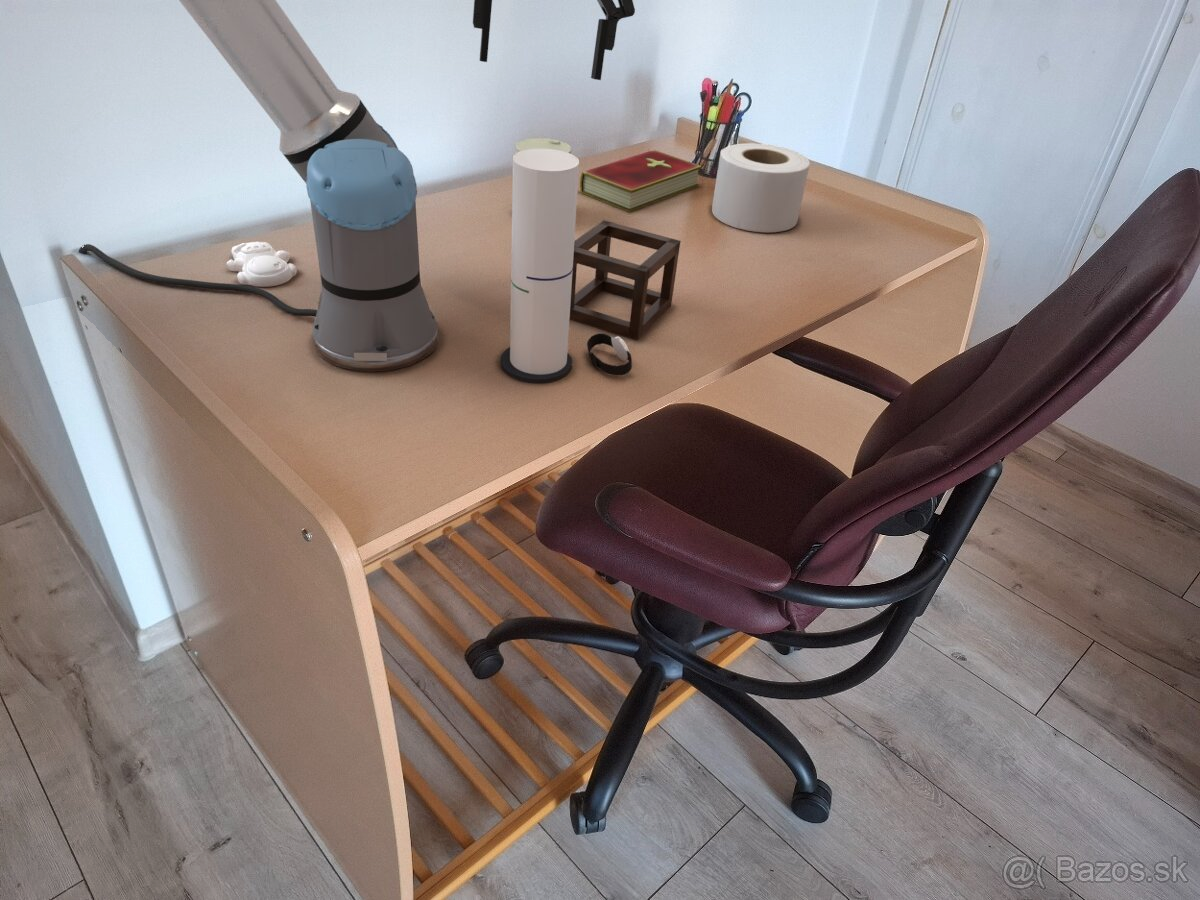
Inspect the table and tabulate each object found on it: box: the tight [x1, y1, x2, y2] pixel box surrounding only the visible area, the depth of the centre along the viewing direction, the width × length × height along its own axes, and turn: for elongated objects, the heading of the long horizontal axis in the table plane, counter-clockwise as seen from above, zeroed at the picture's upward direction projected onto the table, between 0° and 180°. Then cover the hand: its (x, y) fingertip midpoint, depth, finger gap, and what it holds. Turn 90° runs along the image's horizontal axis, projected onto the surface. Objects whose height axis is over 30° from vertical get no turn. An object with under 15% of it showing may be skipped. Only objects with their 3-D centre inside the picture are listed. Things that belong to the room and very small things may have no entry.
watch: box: [586, 332, 633, 376], centre depth 105 cm, size 8×5×4 cm, turn 33°
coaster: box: [499, 346, 573, 384], centre depth 105 cm, size 9×9×1 cm
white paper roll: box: [711, 142, 811, 233], centre depth 147 cm, size 16×15×11 cm
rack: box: [569, 219, 681, 341], centre depth 115 cm, size 12×12×10 cm
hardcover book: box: [579, 149, 703, 213], centre depth 155 cm, size 12×21×4 cm, turn 139°
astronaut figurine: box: [226, 241, 298, 288], centre depth 118 cm, size 9×12×3 cm
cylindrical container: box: [509, 149, 580, 375], centre depth 97 cm, size 7×7×25 cm
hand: (540, 70), depth 100 cm, fingers open, 13 cm apart
